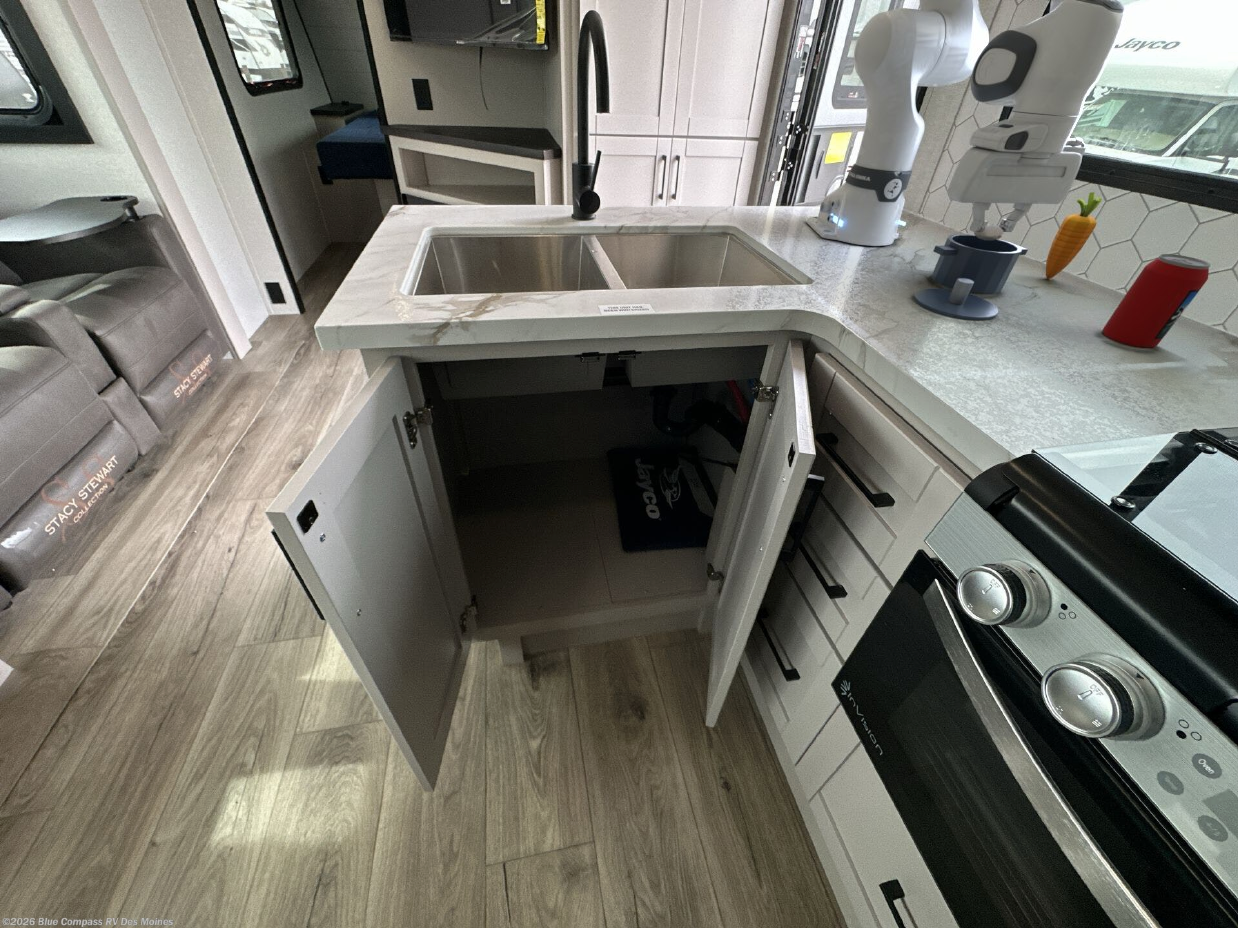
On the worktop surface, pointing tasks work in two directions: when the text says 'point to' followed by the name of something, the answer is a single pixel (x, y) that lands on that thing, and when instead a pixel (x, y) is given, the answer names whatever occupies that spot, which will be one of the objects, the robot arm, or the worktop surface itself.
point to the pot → (976, 262)
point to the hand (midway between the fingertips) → (989, 231)
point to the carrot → (1071, 237)
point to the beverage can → (1156, 300)
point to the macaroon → (990, 233)
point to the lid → (956, 302)
